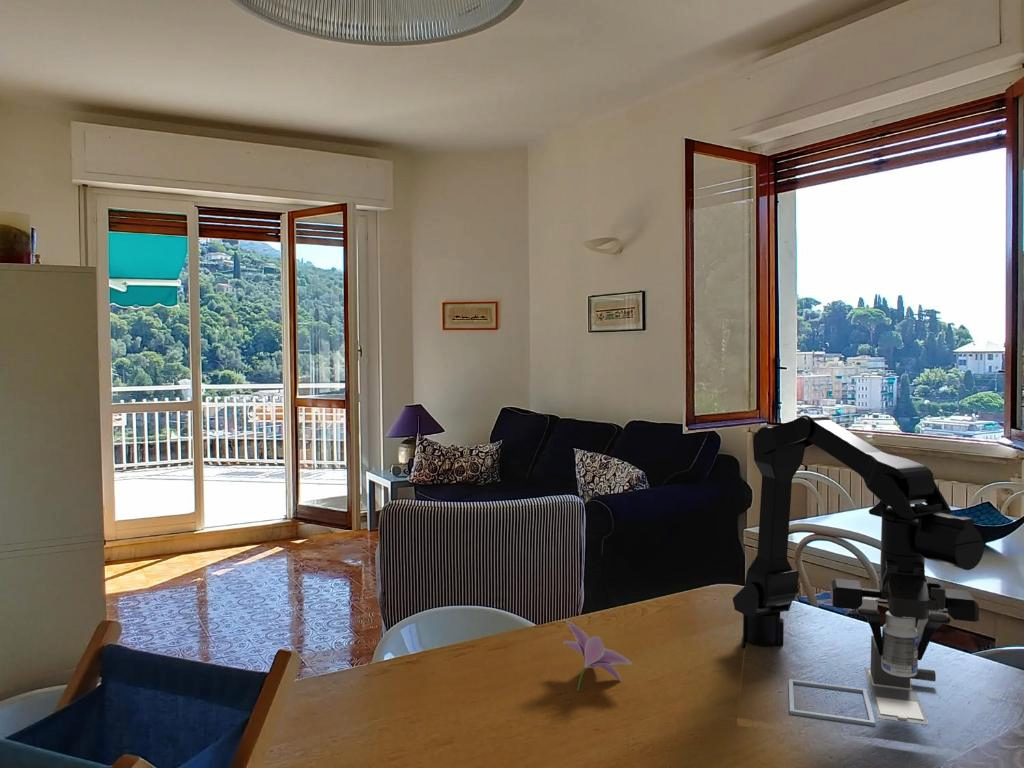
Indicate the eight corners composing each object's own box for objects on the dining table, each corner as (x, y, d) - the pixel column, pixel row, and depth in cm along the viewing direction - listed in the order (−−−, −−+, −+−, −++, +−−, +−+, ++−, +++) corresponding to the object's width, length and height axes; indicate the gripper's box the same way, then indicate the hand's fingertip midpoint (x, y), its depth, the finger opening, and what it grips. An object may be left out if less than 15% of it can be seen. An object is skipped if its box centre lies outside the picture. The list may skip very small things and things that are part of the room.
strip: (877, 723, 111) (877, 715, 111) (864, 672, 128) (864, 666, 128) (928, 730, 108) (929, 722, 108) (908, 677, 126) (908, 671, 125)
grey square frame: (789, 718, 112) (789, 710, 112) (788, 686, 123) (788, 678, 122) (875, 731, 108) (875, 722, 108) (866, 696, 119) (866, 689, 119)
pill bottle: (921, 679, 110) (923, 621, 110) (886, 676, 111) (887, 618, 111) (911, 665, 115) (913, 609, 114) (877, 662, 116) (879, 607, 115)
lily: (635, 706, 118) (647, 642, 122) (568, 685, 115) (582, 620, 119) (598, 698, 129) (610, 640, 133) (535, 679, 126) (550, 619, 129)
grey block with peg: (874, 684, 121) (875, 647, 121) (870, 672, 126) (871, 635, 126) (937, 692, 118) (938, 654, 118) (931, 679, 123) (932, 642, 123)
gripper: (836, 560, 107) (834, 670, 108) (991, 573, 101) (986, 690, 102) (831, 540, 118) (828, 641, 119) (971, 551, 112) (967, 657, 113)
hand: (899, 656), depth 113 cm, fingers closed on pill bottle, 5 cm apart
